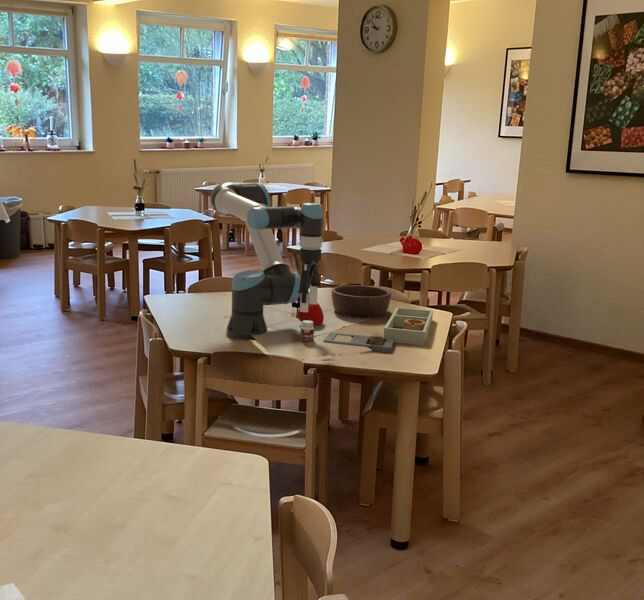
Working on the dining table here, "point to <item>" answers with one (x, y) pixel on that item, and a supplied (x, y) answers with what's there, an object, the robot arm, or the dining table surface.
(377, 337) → the walnut block
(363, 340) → the grey slotted plate
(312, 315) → the red rounded tapered piece
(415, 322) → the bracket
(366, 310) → the wooden bowl
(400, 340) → the parts crate
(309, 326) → the pill bottle
